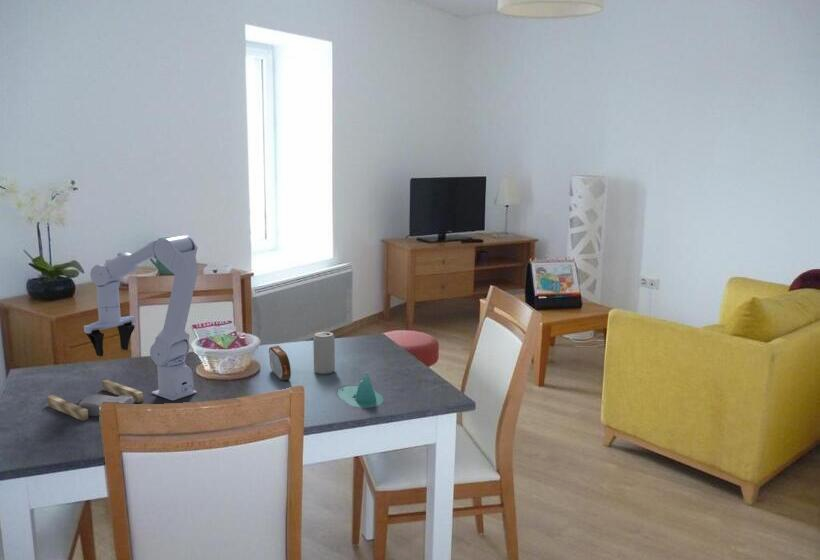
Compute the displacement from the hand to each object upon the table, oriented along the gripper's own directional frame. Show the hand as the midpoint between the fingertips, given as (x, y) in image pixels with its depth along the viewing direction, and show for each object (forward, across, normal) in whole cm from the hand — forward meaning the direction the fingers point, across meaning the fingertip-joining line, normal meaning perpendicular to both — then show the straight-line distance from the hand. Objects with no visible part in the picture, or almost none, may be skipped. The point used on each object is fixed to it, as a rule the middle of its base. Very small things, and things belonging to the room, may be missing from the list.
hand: (112, 352), depth 198 cm
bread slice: (+10, -33, +33) cm, 48 cm away
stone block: (+10, +12, +16) cm, 23 cm away
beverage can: (+10, -44, +41) cm, 61 cm away
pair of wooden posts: (+9, +12, +10) cm, 18 cm away
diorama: (+10, -34, +63) cm, 72 cm away
